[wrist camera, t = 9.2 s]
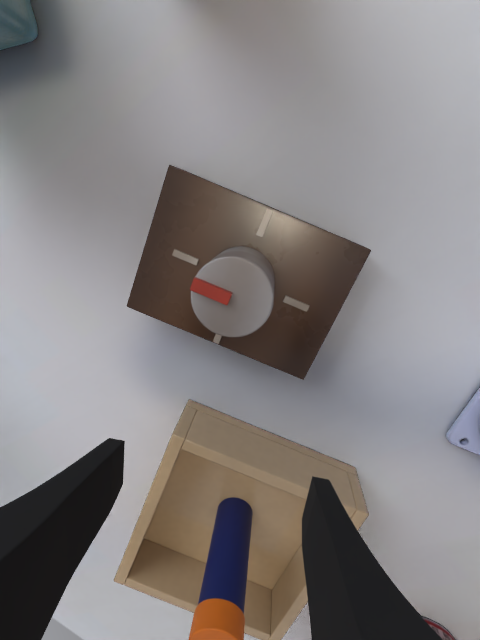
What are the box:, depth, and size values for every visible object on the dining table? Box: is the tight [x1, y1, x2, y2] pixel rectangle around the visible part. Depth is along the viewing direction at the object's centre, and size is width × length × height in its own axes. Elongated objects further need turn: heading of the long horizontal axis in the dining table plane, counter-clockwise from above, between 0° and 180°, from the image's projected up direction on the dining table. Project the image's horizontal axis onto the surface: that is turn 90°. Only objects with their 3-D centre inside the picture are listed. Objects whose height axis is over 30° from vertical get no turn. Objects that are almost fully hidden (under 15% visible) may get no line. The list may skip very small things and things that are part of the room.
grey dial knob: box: [190, 246, 275, 337], centre depth 17 cm, size 4×4×4 cm
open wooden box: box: [114, 400, 369, 640], centre depth 25 cm, size 13×14×4 cm
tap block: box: [127, 165, 371, 379], centre depth 20 cm, size 11×8×3 cm
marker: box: [189, 497, 253, 640], centre depth 22 cm, size 3×3×8 cm
